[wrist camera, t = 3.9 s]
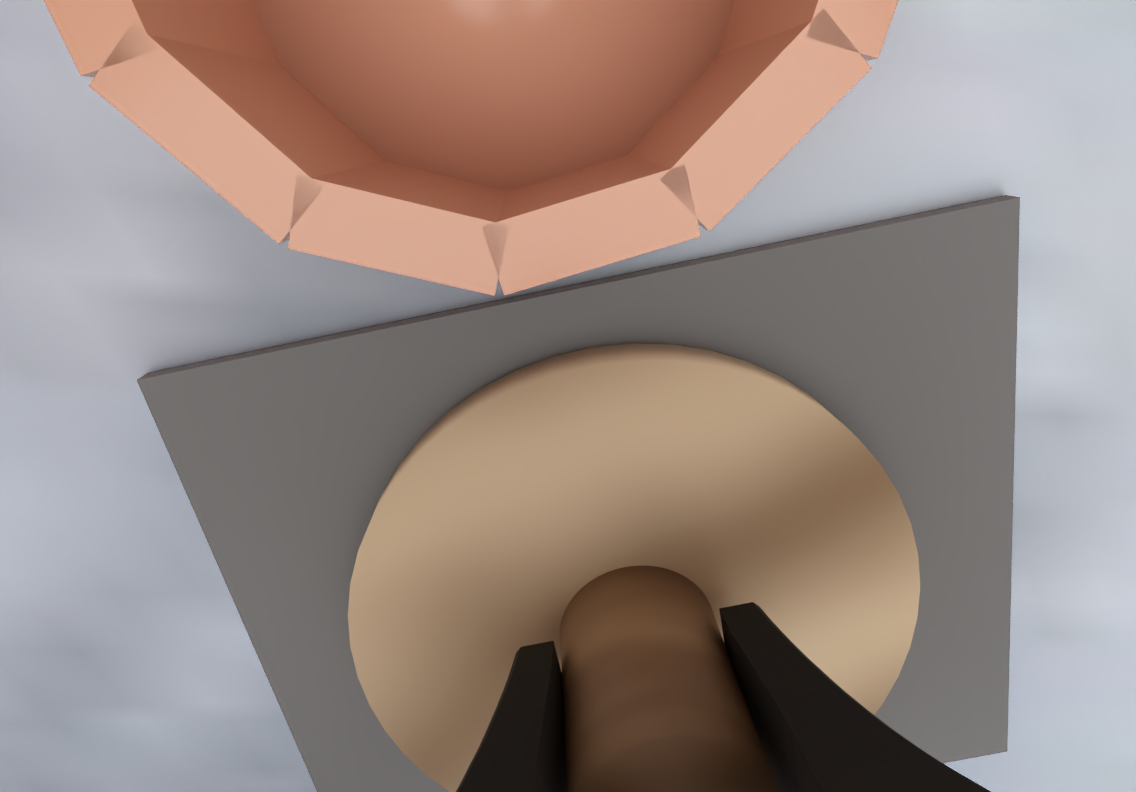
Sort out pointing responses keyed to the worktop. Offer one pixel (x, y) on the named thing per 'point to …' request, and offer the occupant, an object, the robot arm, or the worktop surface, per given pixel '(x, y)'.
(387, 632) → the lid
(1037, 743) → the worktop surface
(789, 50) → the bowl
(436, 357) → the mat
